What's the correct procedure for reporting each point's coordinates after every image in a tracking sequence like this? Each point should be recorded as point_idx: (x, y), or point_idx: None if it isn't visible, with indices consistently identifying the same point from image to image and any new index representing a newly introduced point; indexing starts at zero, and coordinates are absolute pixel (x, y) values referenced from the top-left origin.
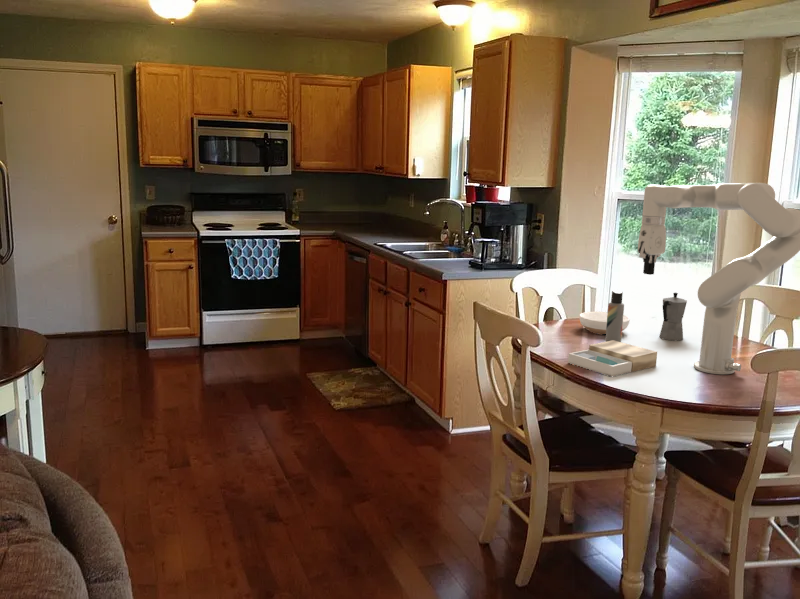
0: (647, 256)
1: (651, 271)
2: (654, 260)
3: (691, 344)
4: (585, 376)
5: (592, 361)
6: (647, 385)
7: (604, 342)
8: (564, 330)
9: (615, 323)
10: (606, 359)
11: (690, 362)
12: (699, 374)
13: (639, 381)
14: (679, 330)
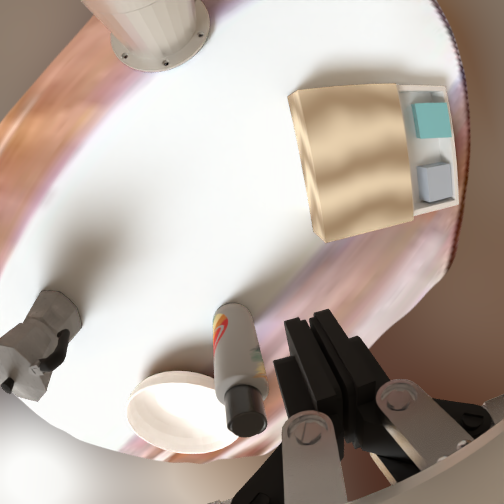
0: (479, 428)
1: (336, 322)
2: (325, 434)
3: (42, 250)
4: (463, 118)
5: (452, 138)
6: (401, 19)
7: (365, 229)
8: (266, 415)
9: (250, 337)
10: (447, 111)
11: (164, 95)
12: (232, 10)
13: (401, 40)
14: (40, 305)
